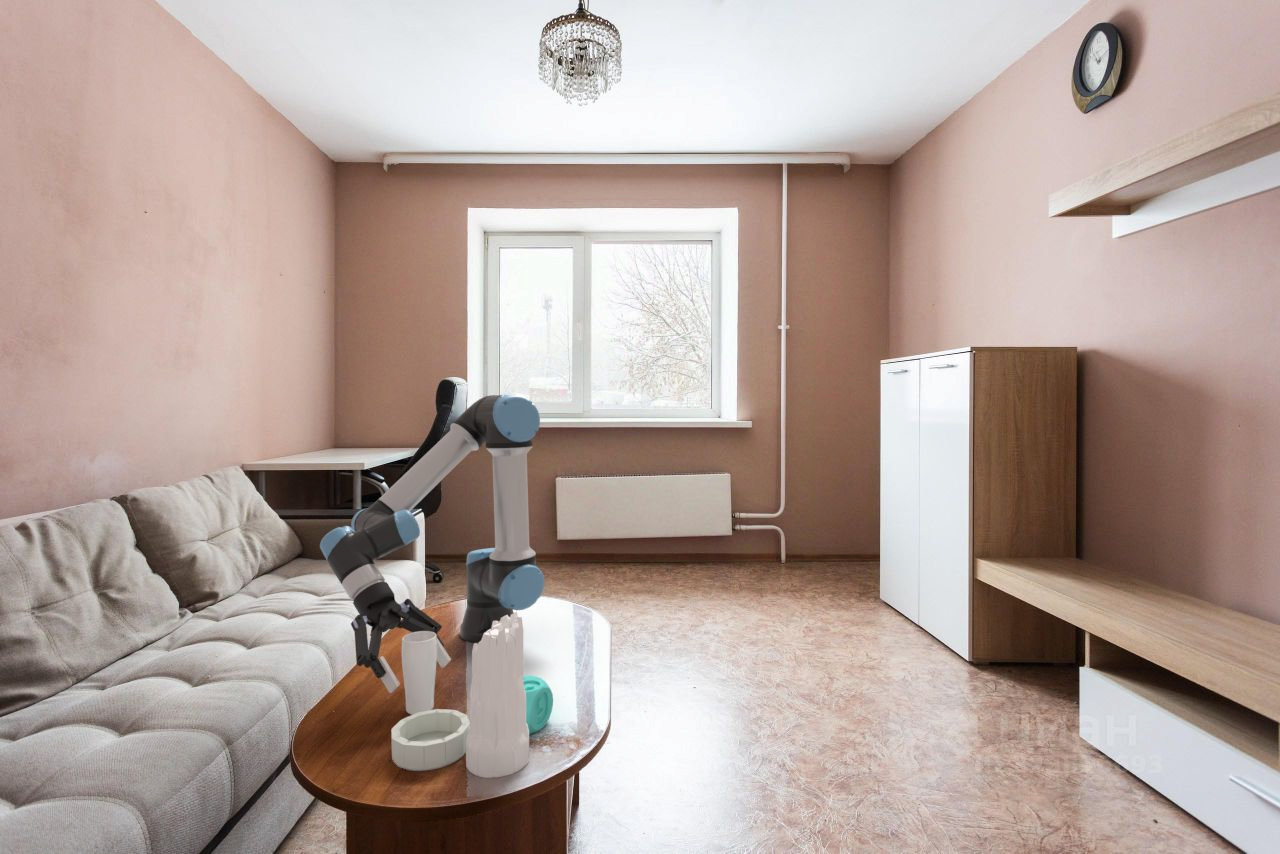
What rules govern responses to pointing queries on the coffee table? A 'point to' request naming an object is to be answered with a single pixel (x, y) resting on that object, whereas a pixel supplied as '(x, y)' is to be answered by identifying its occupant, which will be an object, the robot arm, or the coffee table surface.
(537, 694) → the decorative dice
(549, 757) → the coffee table surface
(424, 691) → the drinking glass
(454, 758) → the dish
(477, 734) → the decorative vase
